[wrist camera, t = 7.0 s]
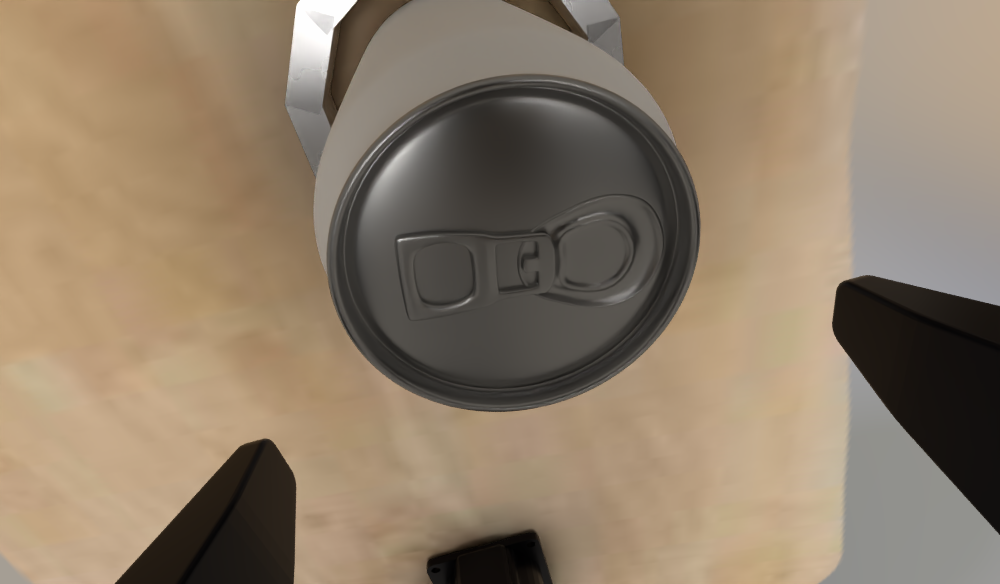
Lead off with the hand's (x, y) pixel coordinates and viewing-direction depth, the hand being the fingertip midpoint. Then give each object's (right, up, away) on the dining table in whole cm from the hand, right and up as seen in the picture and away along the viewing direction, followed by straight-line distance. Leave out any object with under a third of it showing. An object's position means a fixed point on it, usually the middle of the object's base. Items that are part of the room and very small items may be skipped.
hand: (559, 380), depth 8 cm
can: (-2, +8, +10) cm, 13 cm away
